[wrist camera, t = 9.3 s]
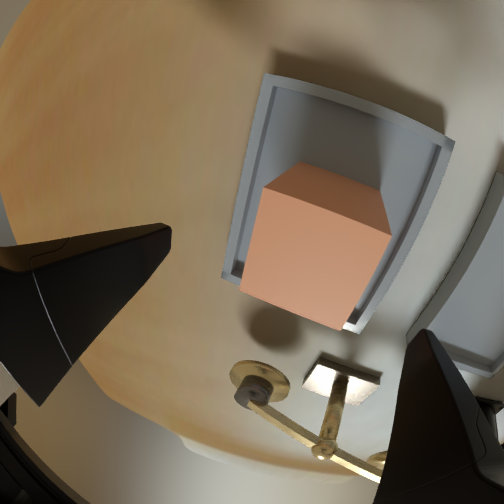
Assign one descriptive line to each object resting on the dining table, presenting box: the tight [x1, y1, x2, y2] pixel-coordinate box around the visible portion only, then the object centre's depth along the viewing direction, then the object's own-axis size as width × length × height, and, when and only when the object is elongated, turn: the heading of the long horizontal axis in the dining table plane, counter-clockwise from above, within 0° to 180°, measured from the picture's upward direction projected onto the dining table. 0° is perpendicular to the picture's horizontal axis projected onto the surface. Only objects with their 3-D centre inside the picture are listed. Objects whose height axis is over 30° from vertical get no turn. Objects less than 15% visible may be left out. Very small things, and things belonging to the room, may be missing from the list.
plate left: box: [221, 73, 455, 334], centre depth 15 cm, size 10×13×2 cm
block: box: [239, 161, 392, 331], centre depth 12 cm, size 4×4×6 cm
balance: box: [230, 358, 388, 483], centre depth 18 cm, size 18×5×9 cm, turn 77°
